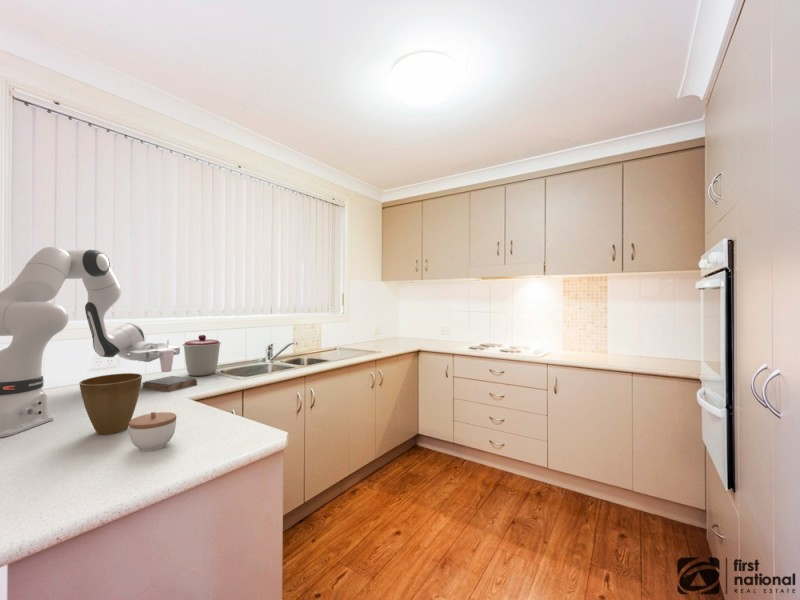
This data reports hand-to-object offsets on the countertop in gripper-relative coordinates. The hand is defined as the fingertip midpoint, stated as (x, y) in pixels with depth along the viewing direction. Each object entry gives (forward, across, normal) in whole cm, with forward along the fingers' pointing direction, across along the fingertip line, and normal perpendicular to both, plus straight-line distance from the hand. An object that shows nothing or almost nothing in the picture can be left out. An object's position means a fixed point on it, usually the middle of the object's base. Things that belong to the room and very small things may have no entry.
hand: (167, 354), depth 163 cm
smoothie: (-1, 0, +8) cm, 8 cm away
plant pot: (+35, -44, +15) cm, 58 cm away
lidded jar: (+58, -47, +15) cm, 76 cm away
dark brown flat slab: (-1, +2, +15) cm, 15 cm away
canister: (-11, +27, +16) cm, 33 cm away
